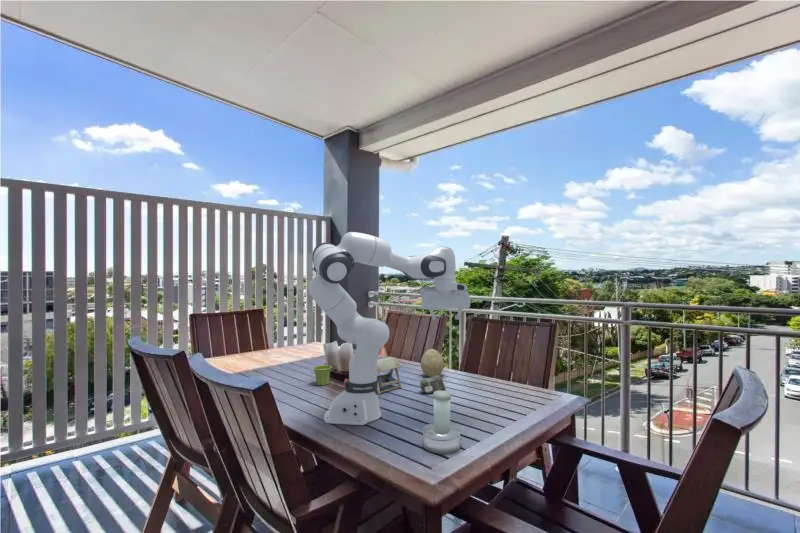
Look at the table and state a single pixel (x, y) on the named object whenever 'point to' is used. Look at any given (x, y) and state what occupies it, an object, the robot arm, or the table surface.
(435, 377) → the stone
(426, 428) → the round glass dish
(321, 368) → the plant pot
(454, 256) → the robot arm
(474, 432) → the table surface
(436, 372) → the fossilized egg
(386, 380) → the swing bench
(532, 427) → the table surface
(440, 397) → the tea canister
